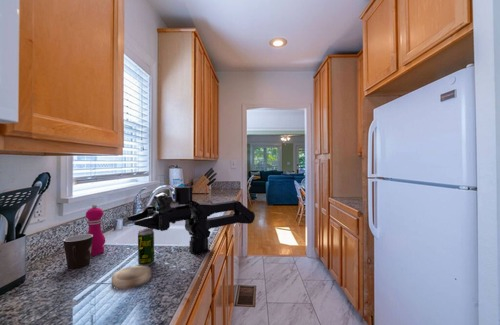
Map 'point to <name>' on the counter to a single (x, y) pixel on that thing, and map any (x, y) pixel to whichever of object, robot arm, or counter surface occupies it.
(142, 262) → the beer can
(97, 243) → the pepper mill
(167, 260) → the counter surface
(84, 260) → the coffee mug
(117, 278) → the plate
